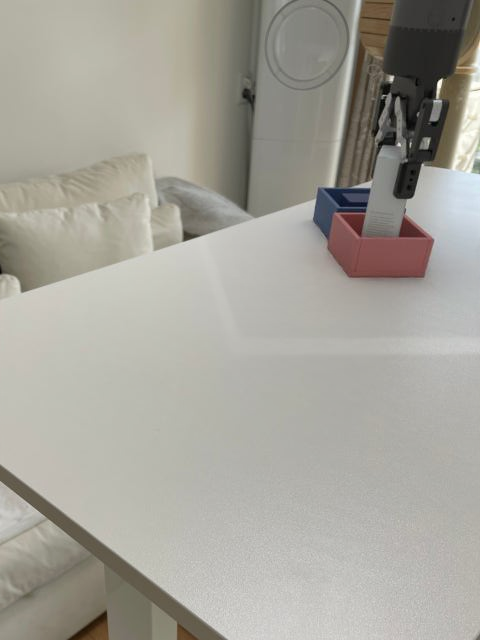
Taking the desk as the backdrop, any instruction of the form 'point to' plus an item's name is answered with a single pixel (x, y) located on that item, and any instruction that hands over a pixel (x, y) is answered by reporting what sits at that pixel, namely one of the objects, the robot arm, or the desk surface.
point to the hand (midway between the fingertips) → (390, 188)
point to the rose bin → (379, 248)
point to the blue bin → (334, 206)
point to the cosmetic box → (384, 197)
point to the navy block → (354, 200)
